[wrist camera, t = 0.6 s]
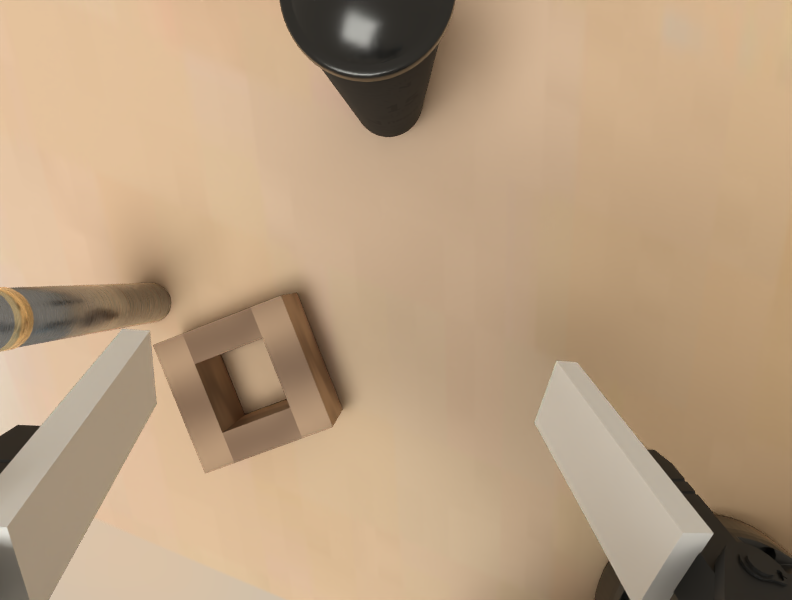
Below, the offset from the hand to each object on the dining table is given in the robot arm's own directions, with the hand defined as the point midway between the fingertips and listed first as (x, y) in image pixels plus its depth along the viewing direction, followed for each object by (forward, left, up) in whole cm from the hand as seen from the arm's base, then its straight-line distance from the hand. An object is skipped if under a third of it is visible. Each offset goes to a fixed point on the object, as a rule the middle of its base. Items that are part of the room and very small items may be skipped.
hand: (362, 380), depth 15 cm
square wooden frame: (0, +11, -19) cm, 22 cm away
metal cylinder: (+8, +17, -19) cm, 27 cm away
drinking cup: (+15, -5, -19) cm, 25 cm away
